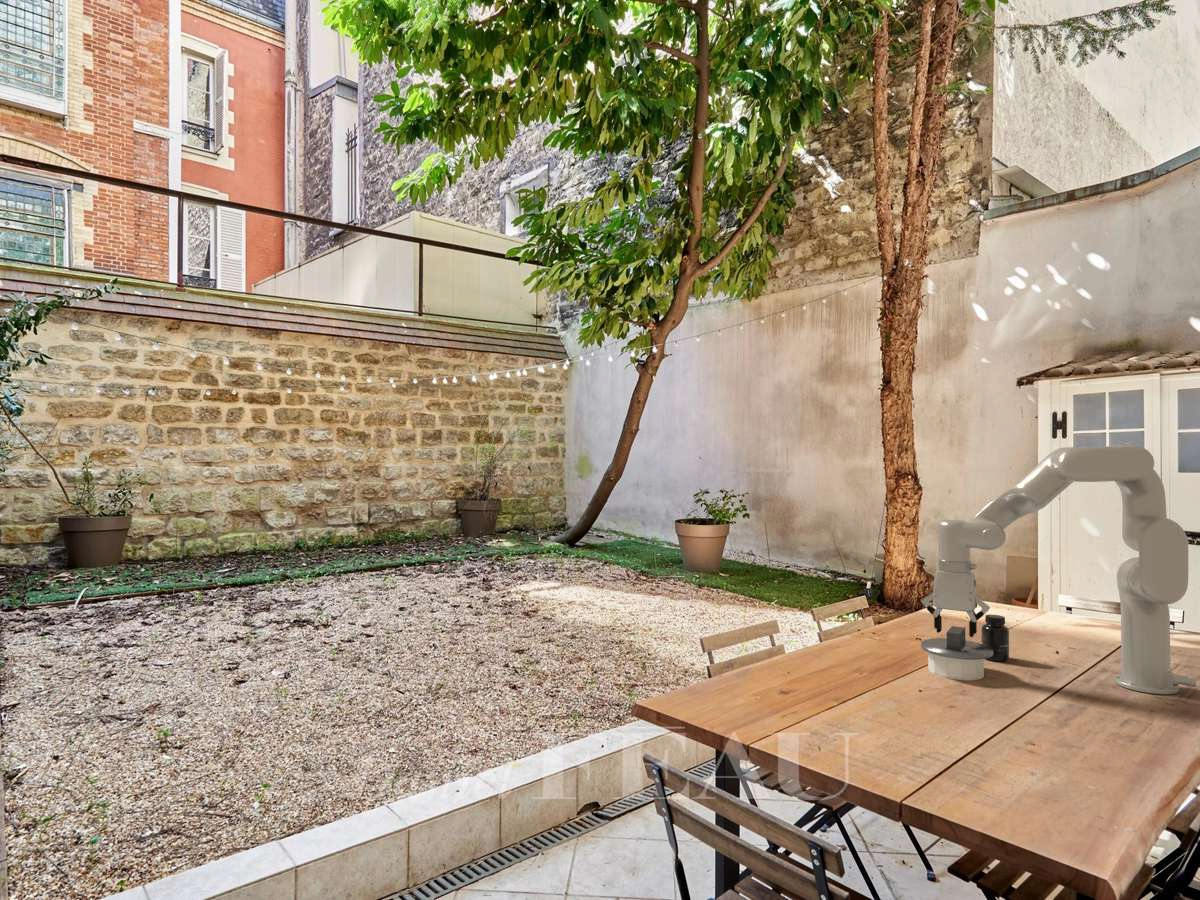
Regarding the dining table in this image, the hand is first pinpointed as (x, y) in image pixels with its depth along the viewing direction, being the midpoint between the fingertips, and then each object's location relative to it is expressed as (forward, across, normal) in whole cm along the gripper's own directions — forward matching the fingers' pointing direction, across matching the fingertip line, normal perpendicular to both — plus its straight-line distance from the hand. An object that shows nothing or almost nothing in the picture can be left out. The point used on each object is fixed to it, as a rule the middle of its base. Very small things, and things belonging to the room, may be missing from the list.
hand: (955, 633), depth 182 cm
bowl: (+10, 0, 0) cm, 10 cm away
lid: (+4, 0, 0) cm, 4 cm away
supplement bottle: (+10, -7, -19) cm, 23 cm away
